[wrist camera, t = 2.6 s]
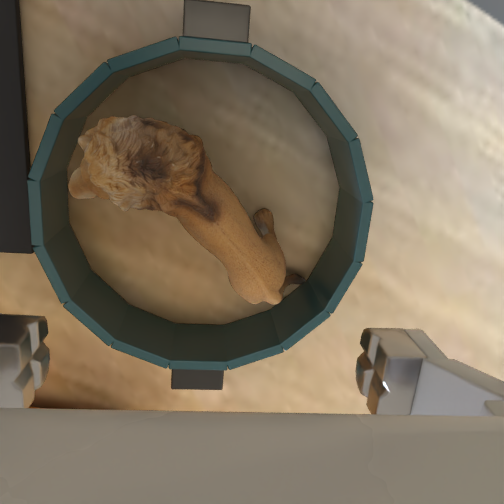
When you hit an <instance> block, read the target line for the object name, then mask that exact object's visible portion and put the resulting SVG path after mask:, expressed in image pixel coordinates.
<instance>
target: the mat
mask: <svg viewBox="0 0 504 504" xmlns="http://www.w3.org/2000/svg"><path fill="white" fill-rule="evenodd" d="M29 172H30V158H29V143H28V128H27V113H26V98H25V82H24V67H23V52H22V37H21V22H20V7H19V0H0V252H6V253H27V254H32V253H34V250H33V247H34V246H35V245H32V242H31V227H30V213H29V198H28V184H27V180H29V179H30V178H29V177H28V175H29Z"/></svg>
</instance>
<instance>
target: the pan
mask: <svg viewBox="0 0 504 504" xmlns="http://www.w3.org/2000/svg"><path fill="white" fill-rule="evenodd" d="M250 10H251V7H250V6H249V5H241V4H232V3H223V2H214V1H205V0H184V16H183V36H179V41H178V39H177V37H172V38H169V39H166V40H163V41H161V42H158V43H155V44H152V45H149V46H146V47H143V48H140V49H137V50H134V51H131V52H128V53H125V54H123V55H120V56H117V57H114V58H111V59H108V60H107V62H108V63H106V62H103V63H102V64H101V65H100V66H99V67H98V68H97V69H96V70H95V71H94V72H93V73H92V74H91V75H90V76H89V77H88V78H87V79H86V80H85V81H84V82H83V83H82V84H81V85H80V86H78V87H77V88H76V89H75V90H74V91H73V92H72V93H71V94H70V95H69V96H68V97H67V98H66V99H65V100H64V101H63V102H62V103H61V104H60V105H59V106H58V107H57V108H56V109H55V110H54V112H55V113H54V114H51V117H50V119H49V122H48V125H47V127H46V130H45V133H44V135H43V138H42V141H41V143H40V146H39V149H38V151H37V154H36V156H35V159H34V162H33V164H32V167H31V170H30V172H29V175H28V177H29V178H30V179H29V180H27V184H28V198H29V213H30V227H31V242H32V245H35V246H34V247H33V250H34V252H35V254H36V255H37V257H38V259H39V261H40V263H41V265H42V267H43V269H44V271H45V273H46V275H47V277H48V279H49V281H50V283H51V285H52V287H53V289H54V291H55V293H56V294H57V296H58V298H59V300H60V302H61V304H62V303H65V304H64V305H63V307H64V308H66V309H67V310H68V311H69V312H70V313H71V314H72V315H74V316H75V317H76V318H77V319H78V320H79V321H80V322H82V323H83V324H84V325H85V326H86V327H87V328H88V329H90V330H91V331H92V332H93V333H94V334H95V335H96V336H98V337H99V338H100V339H101V340H102V341H103V342H104V343H106V344H107V345H108V346H110V345H111V344H112V346H111V348H113V349H116V350H119V351H121V352H124V353H127V354H129V355H132V356H134V357H137V358H140V359H142V360H145V361H147V362H150V363H153V364H155V365H158V366H161V367H163V368H167V367H168V365H169V369H172V377H171V388H172V389H198V390H222V388H223V376H224V370H227V366H228V368H229V370H231V369H234V368H237V367H240V366H243V365H246V364H249V363H252V362H255V361H258V360H261V359H264V358H267V357H270V356H273V355H276V354H280V353H283V349H284V350H288V349H289V348H290V347H292V346H293V345H294V344H295V343H297V342H298V341H299V340H301V339H302V338H303V337H304V336H306V335H307V334H308V333H309V332H311V331H312V330H313V329H315V328H316V327H317V326H318V325H320V324H321V323H322V322H324V321H325V320H326V319H327V318H329V317H330V316H331V315H330V313H333V312H334V311H335V309H336V307H337V306H338V304H339V302H340V301H341V299H342V297H343V296H344V294H345V292H346V291H347V289H348V288H349V286H350V284H351V283H352V281H353V279H354V278H355V276H356V274H357V273H358V271H359V269H360V268H361V266H362V263H361V262H363V261H364V256H365V250H366V244H367V238H368V232H369V227H370V221H371V215H372V209H373V202H372V200H373V195H372V191H371V187H370V182H369V178H368V174H367V169H366V165H365V161H364V156H363V152H362V148H361V143H360V139H359V138H356V137H357V136H358V135H357V133H356V132H355V131H354V129H353V128H352V127H351V125H350V124H349V123H348V121H347V120H346V119H345V117H344V116H343V114H342V113H341V112H340V110H339V109H338V108H337V106H336V105H335V104H334V102H333V101H332V100H331V98H330V97H329V95H328V94H327V93H326V91H325V90H324V89H323V87H322V86H321V85H320V83H319V82H315V81H316V79H314V78H313V77H311V76H309V75H307V74H306V73H304V72H302V71H300V70H299V69H297V68H295V67H294V66H292V65H290V64H288V63H287V62H285V61H283V60H281V59H280V58H278V57H276V56H274V55H273V54H271V53H269V52H267V51H266V50H264V49H262V48H261V47H259V46H257V45H254V46H253V47H252V44H251V43H248V37H249V23H250ZM183 58H188V59H199V60H209V61H220V62H230V63H240V64H244V65H246V66H248V67H250V68H251V69H253V70H255V71H257V72H258V73H260V74H262V75H264V76H266V77H267V78H269V79H271V80H273V81H274V82H276V83H278V84H280V85H282V86H283V87H285V88H287V89H289V90H291V91H292V92H294V94H295V95H296V96H297V98H298V99H299V100H300V102H301V103H302V104H303V106H304V107H305V108H306V109H307V111H308V112H309V113H310V115H311V116H312V117H313V119H314V120H315V121H316V123H317V124H318V125H319V127H320V128H321V129H322V130H323V132H324V133H325V134H326V136H327V139H328V143H329V147H330V151H331V155H332V159H333V163H334V167H335V171H336V175H337V179H338V182H339V186H340V189H339V196H338V203H337V210H336V217H335V224H334V231H333V237H332V239H331V241H330V242H329V244H328V246H327V248H326V249H325V251H324V253H323V255H322V256H321V258H320V260H319V261H318V263H317V265H316V267H315V268H314V270H313V272H312V274H311V275H310V277H309V279H308V280H307V281H306V282H304V283H303V284H302V285H301V286H299V287H298V288H297V289H296V290H294V291H293V292H292V293H291V294H289V295H288V296H287V297H286V298H285V299H283V300H282V301H281V302H280V303H278V304H277V305H276V306H275V307H273V308H272V309H271V310H269V311H266V312H263V313H259V314H256V315H253V316H250V317H247V318H244V319H241V320H238V321H235V322H232V323H229V324H226V325H205V324H175V323H173V322H171V321H168V320H166V319H163V318H161V317H158V316H156V315H153V314H151V313H148V312H146V311H144V310H141V309H139V308H136V307H134V306H131V305H129V304H128V303H127V302H126V301H125V300H124V299H122V298H121V297H120V296H119V295H118V294H117V293H116V292H115V291H114V290H113V289H112V288H111V287H110V286H108V285H107V284H106V283H105V282H104V281H103V280H102V279H101V278H100V277H99V276H98V275H97V274H96V273H94V272H93V271H92V270H91V268H90V266H89V264H88V261H87V259H86V257H85V255H84V253H83V251H82V249H81V247H80V245H79V242H78V240H77V238H76V236H75V234H74V232H73V230H72V228H71V226H70V223H69V208H68V184H67V167H68V164H69V162H70V159H71V157H72V154H73V152H74V149H75V147H76V144H77V142H78V138H79V136H80V134H81V131H82V129H83V126H84V124H85V121H86V119H87V116H89V115H90V114H91V113H92V112H93V111H94V110H95V109H96V108H97V107H98V106H99V105H100V104H101V103H102V102H103V101H104V100H105V99H106V98H108V97H109V96H110V95H111V94H112V93H113V92H114V91H115V90H116V89H117V88H118V87H119V86H120V85H121V84H122V83H123V82H124V81H125V80H126V79H127V78H129V77H131V76H134V75H137V74H139V73H142V72H145V71H148V70H151V69H154V68H157V67H160V66H163V65H166V64H169V63H172V62H175V61H178V60H181V59H183Z"/></svg>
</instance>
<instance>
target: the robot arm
mask: <svg viewBox="0 0 504 504" xmlns="http://www.w3.org/2000/svg"><path fill="white" fill-rule="evenodd" d="M47 334H48V325H47V320H46V318H45V316H33V315H14V314H1V313H0V504H504V382H503V381H501V380H499V379H497V378H495V377H492V376H490V375H488V374H486V373H484V372H481V371H479V370H477V369H475V368H472V367H470V366H468V365H466V364H464V363H461V362H459V361H457V360H455V359H448V358H447V357H446V356H445V355H444V353H443V352H442V351H441V350H440V349H439V348H438V347H437V346H436V345H435V344H434V343H433V341H432V340H431V339H430V338H429V337H428V336H427V335H426V334H425V333H424V332H423V330H420V329H400V328H366V329H364V330H363V333H362V335H361V341H360V344H361V346H362V348H363V350H364V352H363V353H362V354H361V355H360V356H359V357H358V358H357V364H356V381H357V385H358V388H359V391H360V393H361V394H362V395H364V396H365V397H367V398H368V399H367V404H366V405H367V407H368V409H369V411H370V412H371V414H318V413H263V412H208V411H153V410H97V409H42V408H29V407H30V405H31V404H32V402H33V400H34V399H35V391H34V390H36V389H38V388H40V387H42V385H43V383H44V381H45V380H46V377H47V373H48V369H49V361H50V354H49V348H48V347H47V346H46V345H45V343H44V342H43V340H44V339H45V337H46V336H47Z"/></svg>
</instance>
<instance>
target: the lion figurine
mask: <svg viewBox="0 0 504 504" xmlns="http://www.w3.org/2000/svg"><path fill="white" fill-rule="evenodd" d="M78 144H79V145H80V146H81V148H82V150H83V151H84V153H85V154H84V158H83V160H82V162H81V166H80V168H78V169H76V170H75V171H74V172H73V174H72V175H71V179H70V182H69V184H68V188H69V192H70V194H71V195H72V196H73V197H74V198H77V199H82V198H86V199H90V198H94V197H96V196H98V197H100V198H103V199H110V200H111V201H112V203H114V204H115V205H118V207H119V208H120V209H122V210H123V211H128V210H129V208H131V207H132V208H136V209H138V210H141V209H148V210H158V211H162V212H165V213H167V214H169V215H171V216H175V217H177V219H178V220H179V221H180V223H181V224H182V225H183V227H184V228H185V229H186V230H187V232H188V233H189V234H190V235H191V236H192V237H193V238H194V239H195V240H197V241H198V242H199V243H200V244H201V245H202V246H203V247H205V248H206V249H207V250H208V251H210V252H211V253H212V254H213V255H215V256H216V257H217V258H218V259H219V260H220V261H221V262H222V263H223V264H224V266H225V267H226V269H227V271H228V275H229V281H230V284H231V286H232V288H233V289H234V290H235V291H236V293H238V294H239V295H240V296H241V297H242V298H244V299H245V300H246V301H248V302H249V303H251V304H258V303H260V302H261V301H266V302H268V303H270V304H278V303H280V302H281V300H282V297H283V292H284V289H285V287H286V286H288V285H290V284H303V283H304V282H305V281H306V280H305V279H304V278H302V277H301V276H299V275H297V274H292V275H289V276H286V277H285V275H286V263H285V257H284V254H283V251H282V249H281V247H280V245H279V243H278V241H277V238H276V235H275V232H274V221H273V215H272V213H271V212H270V211H269V210H267V209H261V210H260V211H258V212H257V213H256V214H255V216H254V220H255V223H256V225H257V227H258V228H259V229H260V231H261V232H262V235H263V237H262V238H260V237H259V236H258V234H257V232H256V231H255V229H254V227H253V225H252V223H251V221H250V219H249V217H248V215H247V212H246V211H245V209H244V208H243V206H242V205H241V203H240V202H239V200H238V198H237V197H236V195H235V194H234V192H233V191H232V190H231V188H230V187H229V186H228V185H227V184H226V183H225V182H224V181H223V180H222V179H221V178H220V177H219V176H218V175H216V174H215V173H214V172H213V171H212V165H211V162H210V160H209V158H208V156H207V155H206V152H205V150H204V148H203V143H202V140H201V138H200V137H199V136H196V135H189V134H188V133H187V132H186V131H185V130H184V129H181V128H179V127H177V126H172V125H169V124H168V123H167V122H163V121H159V120H155V119H153V118H148V117H147V118H145V119H143V118H140V117H138V116H135V115H132V116H129V117H128V118H122V117H114V116H111V117H109V118H101V119H100V120H99V122H98V125H97V126H96V127H93V128H91V129H89V130H88V131H86V133H85V135H82V136H80V137H79V138H78Z"/></svg>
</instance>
